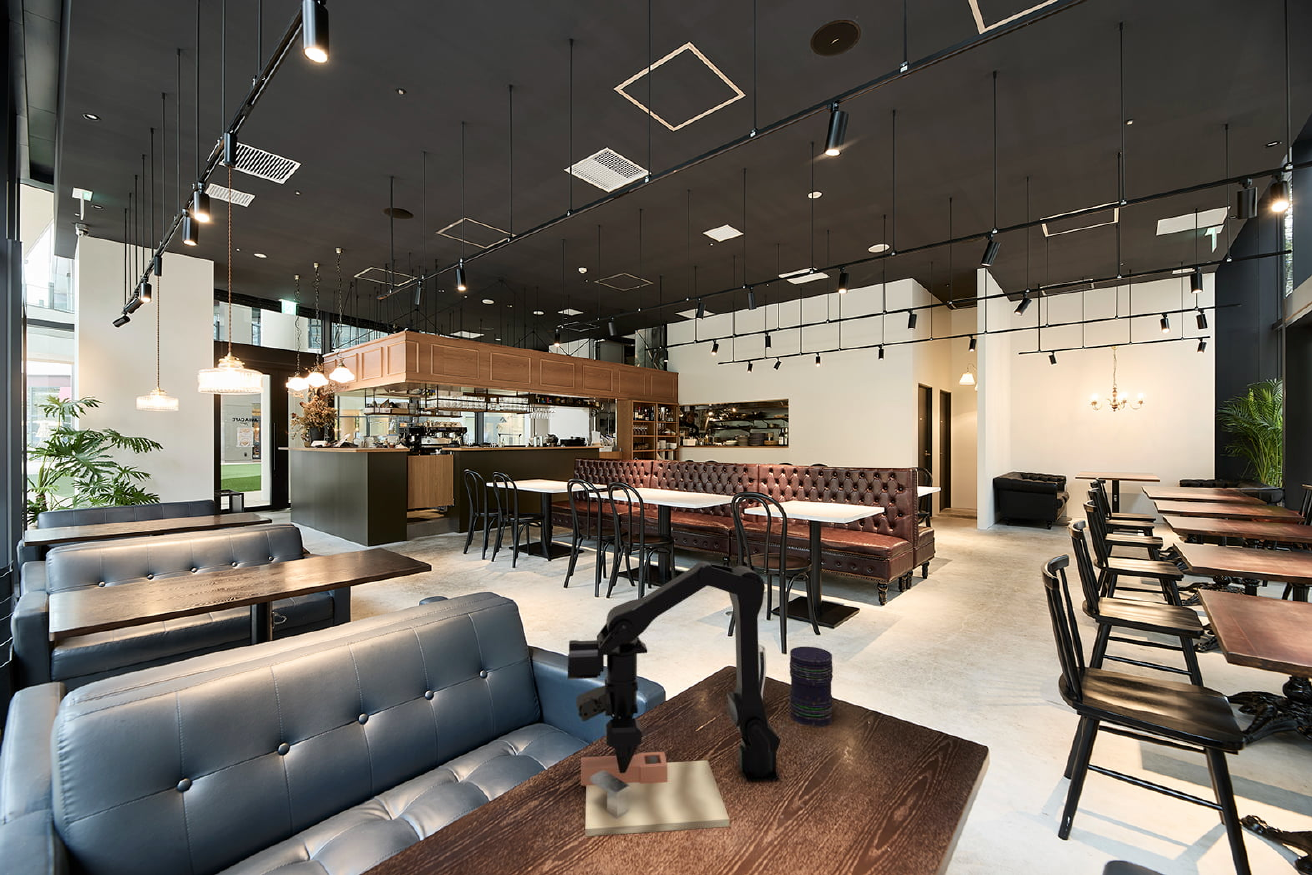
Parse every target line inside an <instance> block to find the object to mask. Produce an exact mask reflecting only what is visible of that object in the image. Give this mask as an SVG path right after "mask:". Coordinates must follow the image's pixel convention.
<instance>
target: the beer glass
mask: <svg viewBox="0 0 1312 875" xmlns="http://www.w3.org/2000/svg"><path fill="white" fill-rule="evenodd" d="M758 653H759V688H760V693H761V696H762V699H763V700H764V698H763V697H764V694H763V693H764V686H765V682H766V675H767V656H766V654H767V653H766V647H765V646H763V645H761V644H759V643H758Z"/></svg>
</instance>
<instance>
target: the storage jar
mask: <svg viewBox="0 0 1312 875" xmlns="http://www.w3.org/2000/svg"><path fill="white" fill-rule="evenodd" d="M789 656H790V658H789V660H790V661H789V676H790V683H791V684H790V690H789V691H790V692H789V708H790V712H789V716H790V715H791V717H792V718H791V717H790V718H791V719H792V720H793V719H794V720H795V721H796V722H795V721H794V720H793V721H794V722H795V723H797V724H799V723H800V724H799V725H801V724H804V725H803V726H805V725H807V726H806V727H809V726H813V727H812V728H823V727H822V726H824V727H826V726H825V725H827V724H829V725H831V724H832V723H831V722H833V716H832V715H833V710H834V704H833V695H832V681H833V671H834V670H833V668H834V666H833V654H832V653H831V652H830V651H828V650H827V649H823V648H821V647H815V646H796V647H793V648H792V649H790V652H789ZM830 723H831V724H830ZM827 726H828V725H827Z"/></svg>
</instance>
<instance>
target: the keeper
mask: <svg viewBox="0 0 1312 875" xmlns="http://www.w3.org/2000/svg"><path fill="white" fill-rule="evenodd" d="M590 781H591V782H592V783H594V784H595V785H597V786H599V787H600V788H602V789H603V790H605V791H606V792H607V812H608V813H609V814H611V815H612V816H614V817H615V818H619V817H621V816H622V815H624V814H625V813H627V812H628V791H629V785H628V784H626V783H625V782H623V781H621V780H620V779H618V778H616V777H615V776H613V775H611V774H610V773H608V772H606V771H605V770H602V771H600V772H598V773H596V774H594V775H592V776H590Z"/></svg>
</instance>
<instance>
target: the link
mask: <svg viewBox="0 0 1312 875" xmlns="http://www.w3.org/2000/svg"><path fill="white" fill-rule="evenodd" d="M650 756H655V757H657V764H648V762H649V757H650ZM580 758H581V759H580V760H581V761H580V786H582V787H583V786H585V787H586V785H595V784H594V783H592V782H591V781H590V776H592V775H594V774H596V773H598V772H600V771H602V770H605V771H606V772H608V773H610V774H611V775H613V776H615V777H616V778H618V779H620V780H621V781H623V782H625V783H635V782H640V784H645V783H662V782H667V763H668V762H667V760H666V758H667V757H666V754H665V751H653V752H652V751H651V752H650V751H649V752H638V754H634V755H633V757H632V759H631V762H630V764H629V766H628V768H627V771H626V773H620V772H619V767H618V762H617V757H616V755H606V756H605V755H604V756H586V757H582V756H581V757H580Z"/></svg>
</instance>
